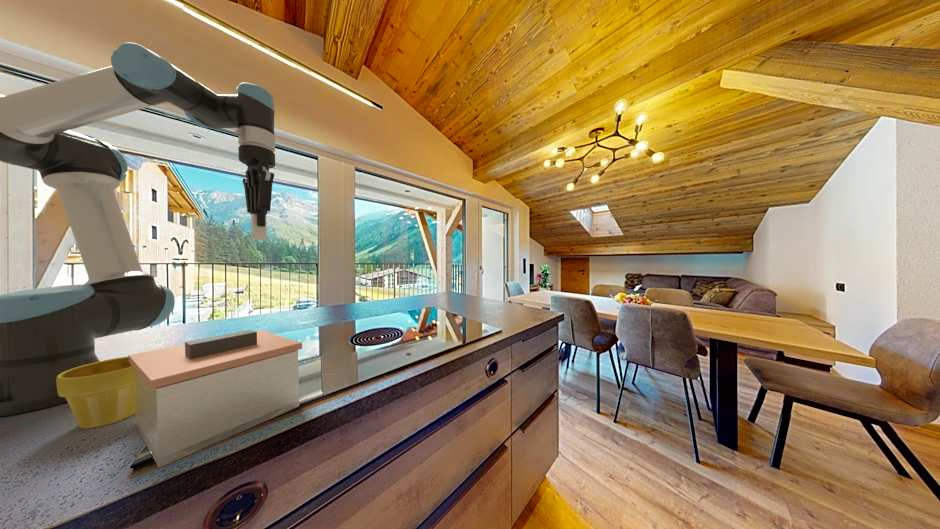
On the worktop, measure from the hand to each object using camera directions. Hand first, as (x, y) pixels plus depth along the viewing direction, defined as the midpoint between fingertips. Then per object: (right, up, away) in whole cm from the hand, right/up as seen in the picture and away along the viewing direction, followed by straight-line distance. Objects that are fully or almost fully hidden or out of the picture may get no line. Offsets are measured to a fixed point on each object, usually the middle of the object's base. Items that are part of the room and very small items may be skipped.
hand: (259, 239), depth 69 cm
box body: (+10, -35, -21) cm, 41 cm away
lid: (+9, -23, -21) cm, 33 cm away
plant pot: (-11, -35, -21) cm, 42 cm away
